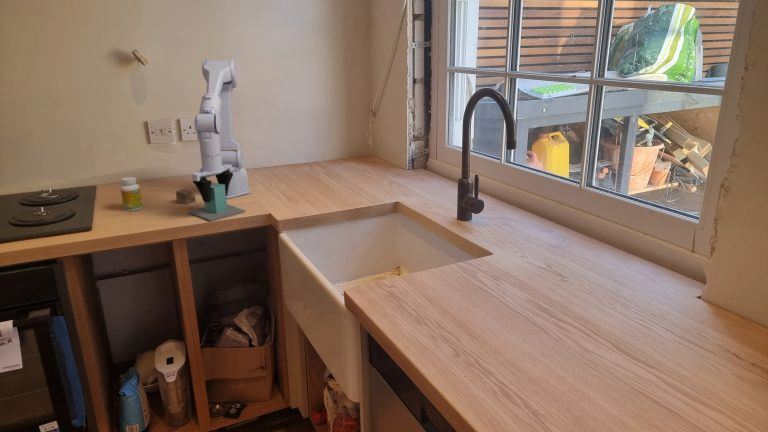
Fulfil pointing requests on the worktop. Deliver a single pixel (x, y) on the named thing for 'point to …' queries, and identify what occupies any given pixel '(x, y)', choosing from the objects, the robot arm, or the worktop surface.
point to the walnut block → (185, 196)
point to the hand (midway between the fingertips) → (215, 198)
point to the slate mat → (212, 216)
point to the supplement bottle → (131, 194)
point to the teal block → (216, 199)
